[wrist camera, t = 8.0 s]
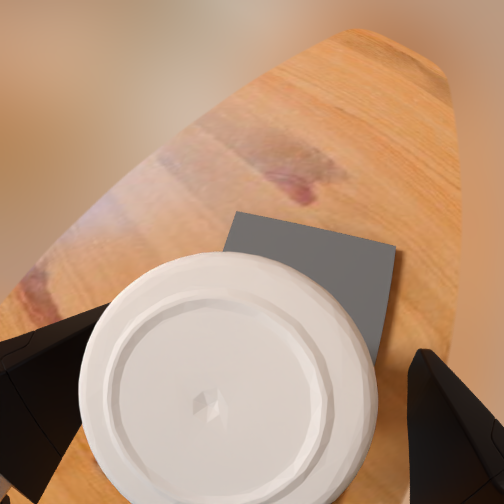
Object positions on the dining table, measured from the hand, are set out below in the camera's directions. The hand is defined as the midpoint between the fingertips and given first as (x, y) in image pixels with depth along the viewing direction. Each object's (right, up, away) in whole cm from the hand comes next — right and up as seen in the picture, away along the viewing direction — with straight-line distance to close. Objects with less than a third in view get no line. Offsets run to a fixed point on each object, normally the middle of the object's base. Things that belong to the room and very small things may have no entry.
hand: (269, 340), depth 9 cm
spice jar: (+1, -4, +7) cm, 8 cm away
